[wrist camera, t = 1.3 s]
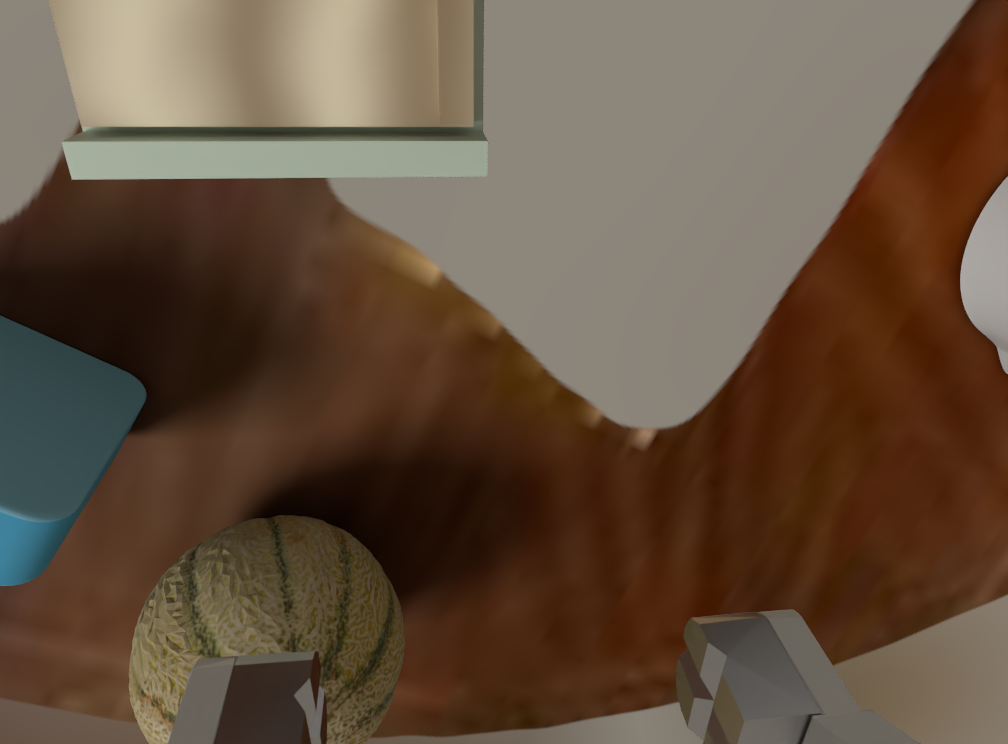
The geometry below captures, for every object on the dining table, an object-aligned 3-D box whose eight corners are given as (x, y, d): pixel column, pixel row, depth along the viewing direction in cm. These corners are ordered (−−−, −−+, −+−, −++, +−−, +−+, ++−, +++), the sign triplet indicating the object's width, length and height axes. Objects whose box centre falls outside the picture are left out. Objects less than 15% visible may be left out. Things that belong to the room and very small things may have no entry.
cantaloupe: (141, 595, 46) (36, 835, 33) (225, 431, 41) (140, 640, 28) (346, 655, 51) (325, 883, 38) (444, 516, 46) (459, 726, 33)
